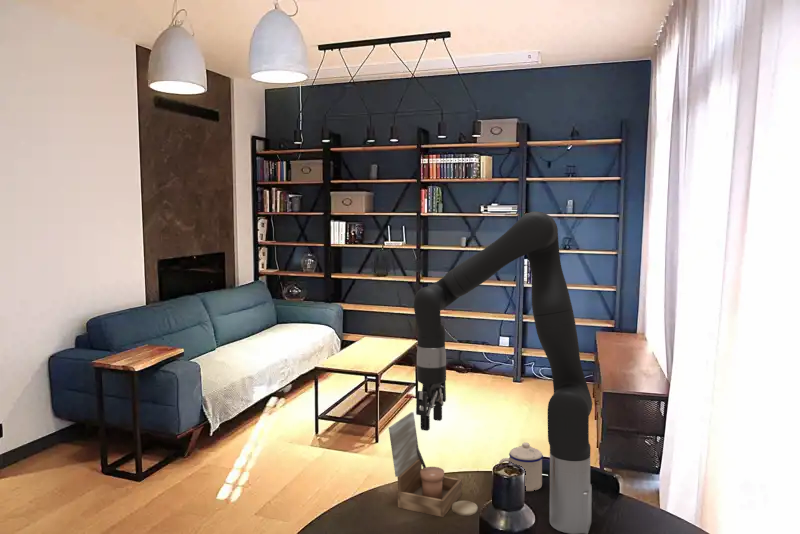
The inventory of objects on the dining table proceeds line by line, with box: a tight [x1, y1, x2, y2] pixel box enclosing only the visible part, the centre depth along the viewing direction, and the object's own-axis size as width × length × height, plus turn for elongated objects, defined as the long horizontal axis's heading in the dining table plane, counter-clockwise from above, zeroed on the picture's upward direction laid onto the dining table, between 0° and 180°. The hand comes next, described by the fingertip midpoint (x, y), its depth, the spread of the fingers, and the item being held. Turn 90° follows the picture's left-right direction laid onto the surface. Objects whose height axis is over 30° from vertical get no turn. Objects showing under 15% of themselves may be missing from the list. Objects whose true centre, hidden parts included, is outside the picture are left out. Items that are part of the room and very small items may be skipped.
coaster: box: [451, 500, 478, 517], centre depth 147 cm, size 6×6×1 cm
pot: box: [420, 466, 445, 500], centre depth 152 cm, size 6×6×7 cm
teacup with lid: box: [498, 442, 544, 492], centre depth 161 cm, size 12×9×12 cm
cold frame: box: [388, 411, 463, 518], centre depth 152 cm, size 15×14×20 cm
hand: (431, 424), depth 151 cm, fingers open, 8 cm apart
